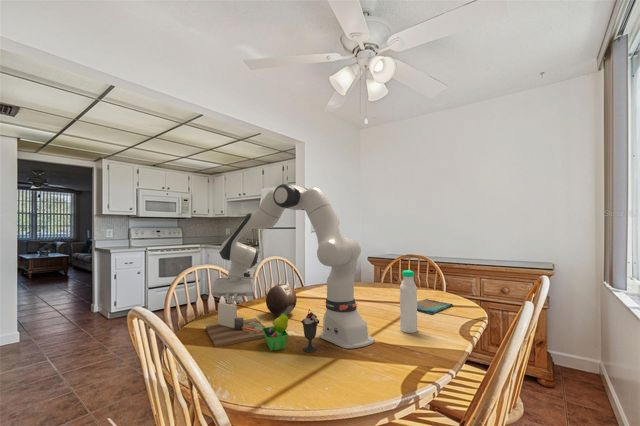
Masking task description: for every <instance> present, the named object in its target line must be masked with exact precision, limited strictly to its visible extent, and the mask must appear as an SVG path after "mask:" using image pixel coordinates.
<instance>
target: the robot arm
mask: <svg viewBox="0 0 640 426" xmlns="http://www.w3.org/2000/svg"><path fill="white" fill-rule="evenodd" d="M285 209H287V210H288V209H289V210H293V211H305V213H306V215H307V217H308V219H309V221H310V223H311V225H312V228H313V229H314V232H315V235H316V239H317V245H318V246H317V251H316V257H317V260H318V261H319V263H320V264H322V265H323V266H325V267H326V266H327V267H331V268H330V273H329V275H328V276H327V279H326V299H325V308H326V310H325V312H324V314H323V319H322V320H323V321H322V330H321V331H322V332H321V333H320V334H319V338H320V339H323V340H324V341H327V342H330V343H332V344H333V345H336V346H339V347H340V348H342V349H357V348H363V347H367V346H369V345H372V344H373V343H374V342H375V338H374V337H373V336H371V335H370V334H369V331H368V330H369V329H368V324H367V321H366V319H363V317H362V316H361V314H360V313H359V312H358V310H357V309H358V308H357V307H358V303H357V302H356V300H355V295H354V294H355V293H354V292H355V290H354V289H355V285H354V284H355V276H356V269H357V265H358V259H359V258H360V255H361V253H362V252H361V251H362V249H361V248H362V247H361V244H360V243H359V242H358V241H357V240H356V239H353V238H351V237H342V234H341V231H340V227H339V225H340V220H339V218H338V215H337V214H336V212H335V210H334V208H333V207H332V204H331V202H330V201H329V199H328V197H326V195H325V194H324V192H323V191H322V190H321V189H320V188H318V187H310V188H306V187H302V186H299V185H295V184H290V183H282V184H280V185H277V187H276V188H273V189H270V190H269V191H268V192H267V194H265V196H264V198H263V199H262V201H261V203H260V204H259V206H258V208H257V209H256V210H255V211H252V212H250V213H249V212H248V213H247V214H246V215H245V216H244V217H243V218H242V219H241V221H240V222H238V224H237V226H236V227H235V228H234V230H233V231H232V232H231V233H230V235H229V236H228V237H227V238H226V239H225V240H224V241H223V242H222V244H221V245H220V248H219V252H218V254H219V255H220V257H221V258H222V260H225V261H228V262H229V261H230V262H231V263H230V268H229V270H228V272H227V275H226V277H217V278H216V279H215V280H214V282H213V284H212V287H211V289H210V293H211V295H212V296H213V297H226V304H231V305H235V301H236V300H237V299H238V297H253V296H255V293H256V286H255V283H256V281H255V276H254V275H253V274H252V273H250V272H248V270H250V269H252V268H254V267H255V266H256V265H257V262H258V259H259V252H258V250H257V248H255V247H252V246H250V245H247V244H244V243H242V242H239V240H240V239H241V237H242V236H243V234H244V233H245V232H246V231H248V230H251V229H259V230H260V229H261V230H262V229H263V230H266V229H270V228H273V227H274V226H275V225H277V223H278V221H279V220H280V219H281V216H282V215H283V213H284V211H285ZM231 297H232V298H231Z"/></svg>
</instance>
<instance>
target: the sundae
mask: <svg viewBox="0 0 640 426" xmlns="http://www.w3.org/2000/svg"><path fill="white" fill-rule="evenodd" d="M300 323H302V329H303V334H304V338H305V339H306V340H307V341H308V343H307V346H305V347H304V348H303V349H302V350H303V352H306V353H315V352H317V351H318V349H317V347H316V346H313V342H312V341H313V340H314V339H315V338H316V336H317V330H318V324H320V319H318V316H317V315H316V314H314V313H313V312H311V309H310V308H309V309H308V312H307V315H306V316H305V318H303V319H302V320H301V321H300Z"/></svg>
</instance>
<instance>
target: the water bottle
mask: <svg viewBox="0 0 640 426" xmlns="http://www.w3.org/2000/svg"><path fill="white" fill-rule="evenodd" d="M401 272H402V273H401V274H402V277H403V278H402V281H401V283H400V285H399V310H400V314H399V320H400V321H399V324H400V325H399V328H400V331H401V332H403V333H407V334H414V333H417V331H418V330H419V328H418V312H417V301H418V295H417V294H418V287H417V285H416V283H415V281H414V276H415V272H414V271H413V270H409V269H407V270H402V271H401Z"/></svg>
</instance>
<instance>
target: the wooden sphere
mask: <svg viewBox="0 0 640 426" xmlns="http://www.w3.org/2000/svg"><path fill="white" fill-rule="evenodd" d="M265 304H266V308H267V309H268V311H269V312H270V313H271V314H272V315H274V316H277V317H280V315H281V314H282V313H284V314H286V315H287V316H288V315H289V314H291V313H292V312H293V311H294V309H295V307H296V305H297V295H296V291H295V290H294V288H292V287H291V286H290V285H287V284H284V283H283V284H282V283H280V284H276V285H274V286H273V287H271V288H270V289H269V290H268V291H267V294H266V297H265Z"/></svg>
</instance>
